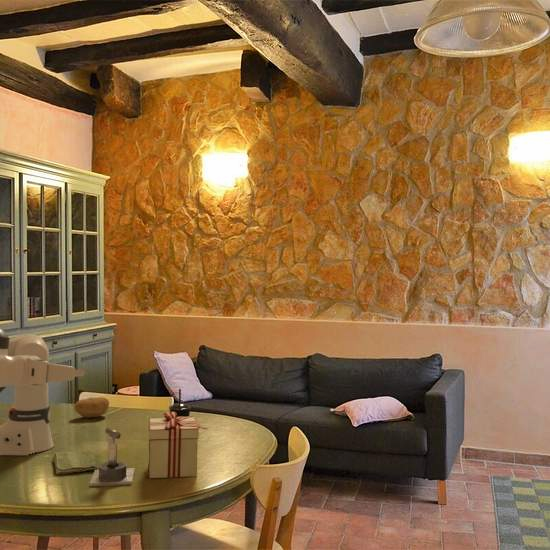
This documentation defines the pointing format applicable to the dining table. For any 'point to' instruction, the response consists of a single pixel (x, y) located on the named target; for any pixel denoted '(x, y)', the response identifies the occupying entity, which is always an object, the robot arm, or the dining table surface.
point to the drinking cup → (180, 408)
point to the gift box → (173, 446)
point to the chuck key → (112, 446)
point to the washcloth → (74, 461)
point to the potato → (92, 407)
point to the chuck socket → (112, 475)
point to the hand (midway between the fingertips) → (76, 372)
